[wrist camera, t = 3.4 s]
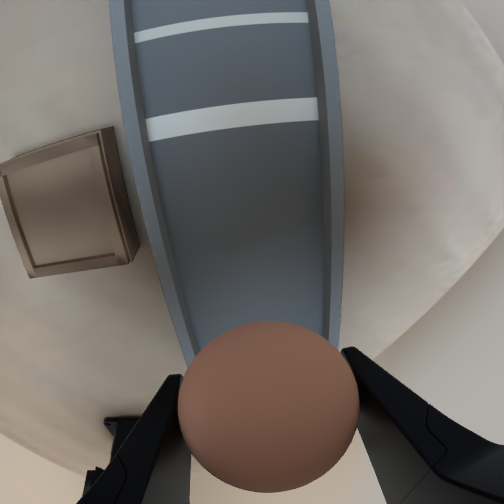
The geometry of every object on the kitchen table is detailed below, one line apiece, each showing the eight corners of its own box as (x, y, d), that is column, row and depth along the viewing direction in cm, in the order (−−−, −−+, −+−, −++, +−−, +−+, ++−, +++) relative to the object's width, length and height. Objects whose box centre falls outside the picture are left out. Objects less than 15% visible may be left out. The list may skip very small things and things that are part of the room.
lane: (326, 346, 24) (337, 374, 21) (197, 365, 23) (196, 395, 21) (296, -87, 10) (308, -110, 7) (120, -67, 10) (105, -88, 7)
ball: (329, 381, 12) (366, 492, 7) (202, 400, 12) (203, 518, 7) (333, 273, 9) (407, 408, 5) (165, 298, 9) (138, 450, 5)
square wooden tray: (139, 245, 19) (130, 265, 16) (44, 261, 18) (29, 280, 16) (112, 126, 15) (97, 131, 13) (13, 158, 15) (-9, 167, 13)
